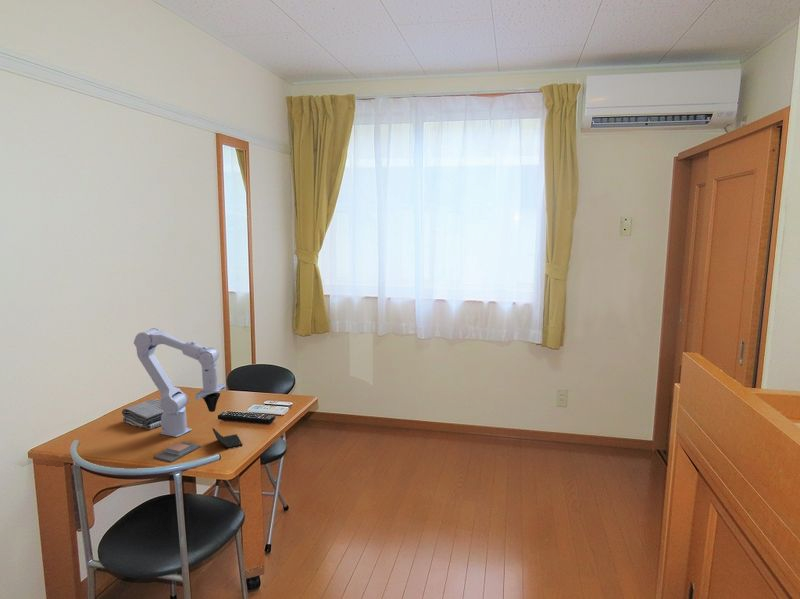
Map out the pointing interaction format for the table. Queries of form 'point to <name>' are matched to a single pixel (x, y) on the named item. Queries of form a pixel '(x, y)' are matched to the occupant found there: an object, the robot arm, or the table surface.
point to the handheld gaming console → (228, 440)
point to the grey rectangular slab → (173, 457)
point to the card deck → (178, 448)
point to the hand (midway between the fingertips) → (212, 411)
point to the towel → (144, 414)
